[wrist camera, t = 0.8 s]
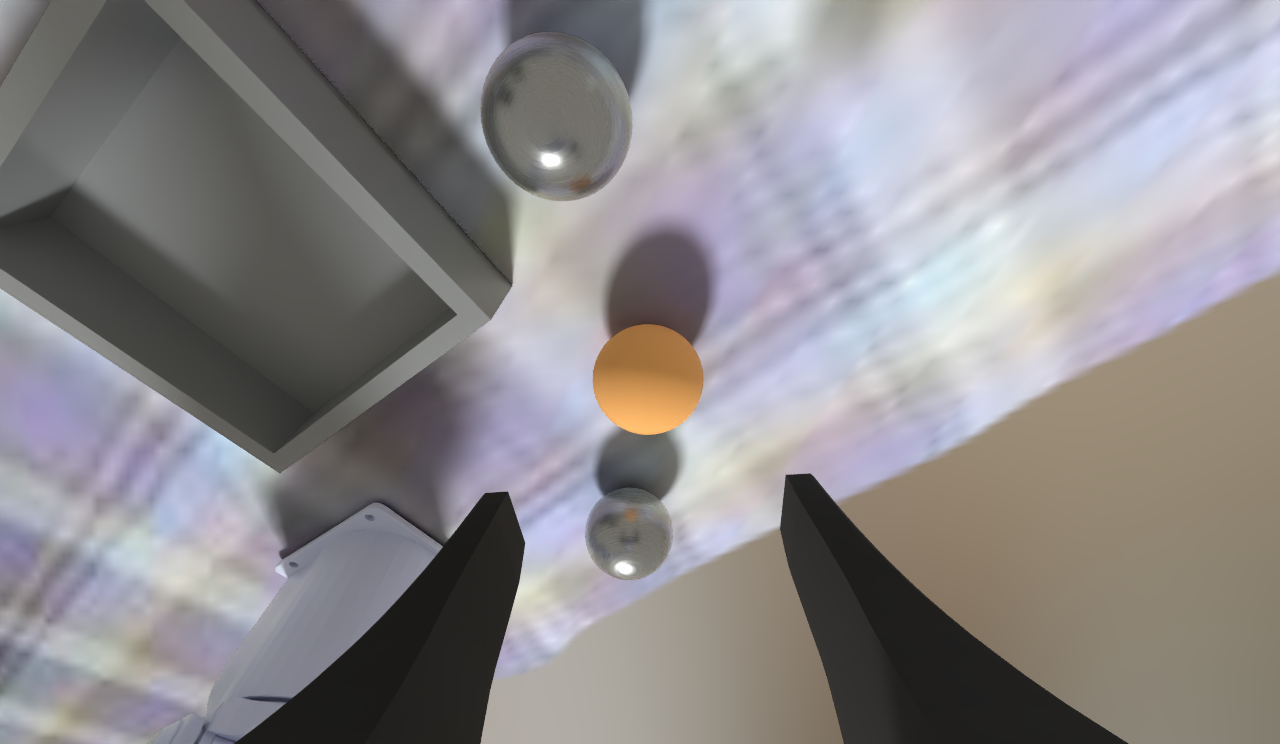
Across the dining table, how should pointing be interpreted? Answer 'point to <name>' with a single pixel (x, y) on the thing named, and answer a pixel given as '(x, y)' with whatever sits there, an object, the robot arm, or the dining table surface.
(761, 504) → the dining table surface
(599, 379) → the orange ball
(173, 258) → the bin
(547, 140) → the steel ball
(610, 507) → the steel ball
